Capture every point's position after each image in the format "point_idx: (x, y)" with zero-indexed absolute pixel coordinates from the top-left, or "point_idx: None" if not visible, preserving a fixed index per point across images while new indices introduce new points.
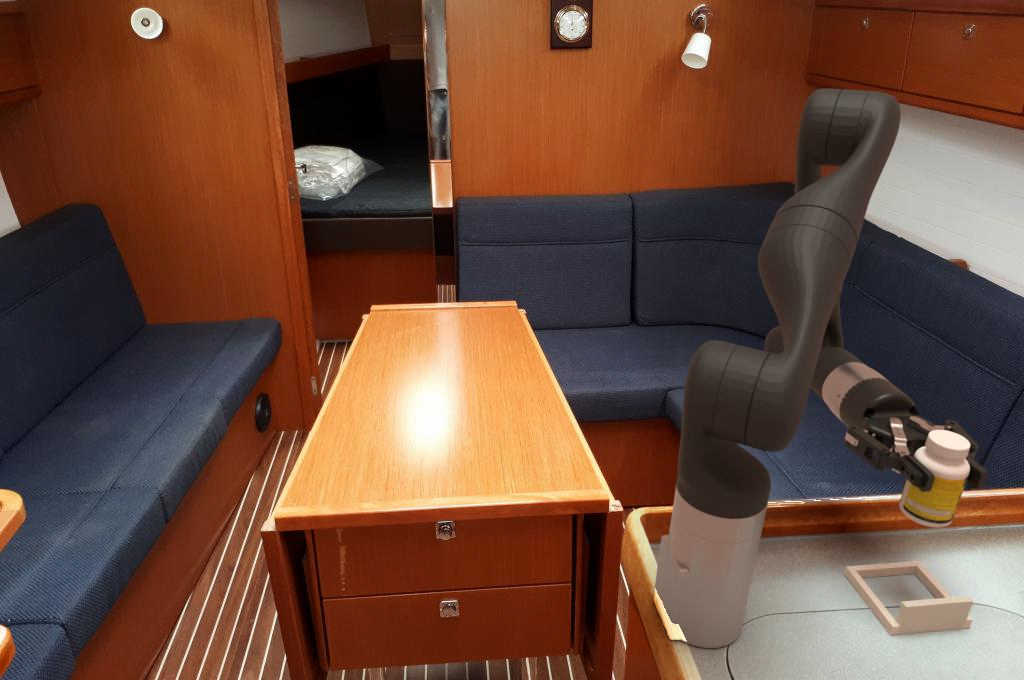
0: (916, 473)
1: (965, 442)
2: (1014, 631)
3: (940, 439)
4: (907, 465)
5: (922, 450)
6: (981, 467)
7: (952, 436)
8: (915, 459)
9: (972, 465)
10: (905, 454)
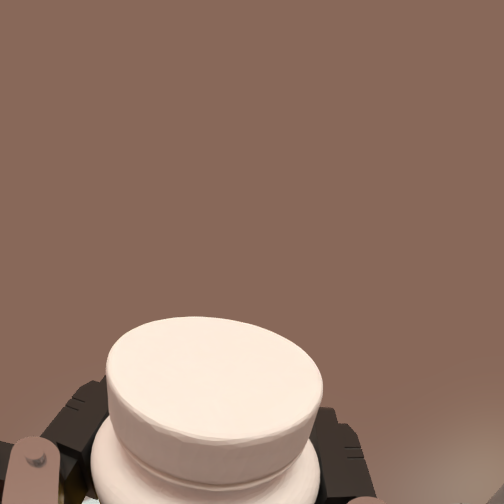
0: (352, 436)
1: (156, 331)
2: (87, 501)
3: (270, 372)
4: (366, 472)
5: (283, 493)
6: (100, 382)
7: (170, 368)
8: (334, 474)
9: None
10: (367, 500)
